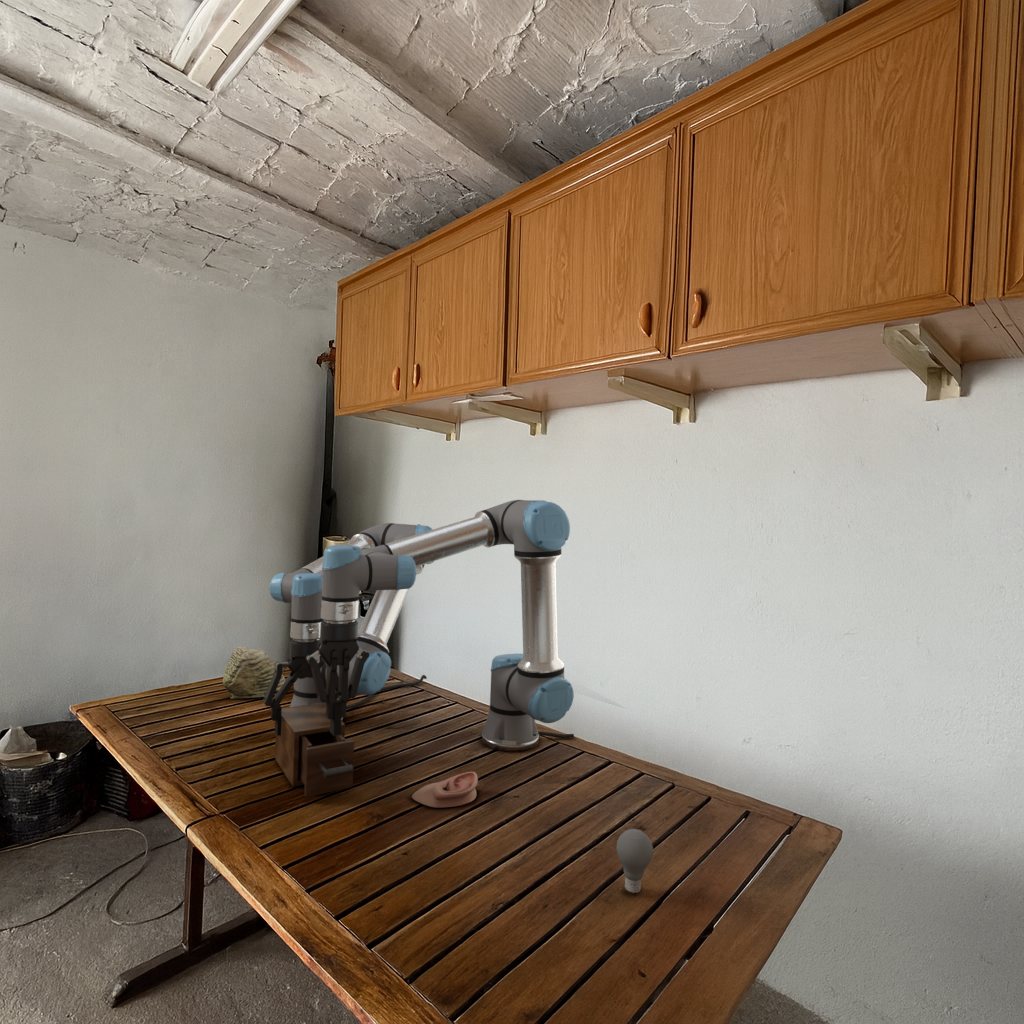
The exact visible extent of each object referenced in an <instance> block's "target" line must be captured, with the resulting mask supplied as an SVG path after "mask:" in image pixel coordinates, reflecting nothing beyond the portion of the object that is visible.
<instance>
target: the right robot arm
mask: <svg viewBox="0 0 1024 1024" xmlns="http://www.w3.org/2000/svg"><path fill="white" fill-rule="evenodd" d="M432 529H433V530H430V531H427V532H423V533H420V534H417V535H413V536H410V537H407V538H403V539H400V540H397V541H393V542H390V543H387V544H384V545H380V546H377V547H374V548H370V549H369V548H361V549H360V547H358V546H351V545H345V544H334V545H333V544H332V545H328V546H326V547H325V548H324V552H323V556H324V557H323V556H322V557H323V566H322V602H321V618H322V619H323V621H322V622H321V626H320V643H319V646H318V647H317V651H316V652H315V653H313V654H312V655H307V656H306V660H307V662H308V663H309V664H310V666H311V670H312V675H313V680H314V684H315V689H316V694H317V698H318V699H319V700H320V701H321V702H325V703H326V717H327V718H328V719H330V733H331V734H332V735H333V736H337V735H341V718H342V717H343V718H345V717H346V715H347V709H346V705H347V704H348V703H349V700H351V699H355V698H356V697H357V694H356V693H357V690H358V686H359V682H360V678H361V675H362V671H363V667H364V663H365V662H366V660H367V659H368V657H369V653H368V652H367V651H365V650H362V649H360V648H359V644H358V641H357V638H358V632H359V622H358V621H357V619H359V607H360V593H361V592H367V591H377V590H400V589H409V590H410V589H411V588H412V587H413V586H414V585H415V582H416V579H417V575H416V567H418V566H421V565H424V564H425V565H428V564H427V563H430V562H433V561H434V562H436V561H439V560H442V559H445V558H448V557H452V556H454V555H458V554H461V553H463V552H468V551H470V550H473V549H476V548H479V547H482V546H483V547H485V548H492V547H495V546H500V545H513V556H514V558H515V559H516V560H517V561H518V562H519V564H520V583H521V585H520V587H521V588H520V589H521V591H520V592H521V621H522V622H521V623H522V625H521V626H522V627H521V628H522V653H503V654H498V655H496V656H494V657H493V658H492V660H491V667H490V693H489V712H488V714H487V717H486V720H485V723H484V725H483V728H482V731H481V742H482V743H483V744H484V746H487V747H488V748H491V749H494V750H496V751H497V750H498V751H504V752H522V751H527V750H528V751H529V750H530V749H534V748H535V747H537V745H539V740H540V737H539V736H545V737H553V738H558V739H559V738H560V739H571V738H572V739H573V738H575V734H574V733H556V732H550V731H549V732H548V731H540V730H538V726H537V723H536V721H538V722H541V723H543V724H553V723H556V722H558V721H560V720H561V719H562V718H564V717H565V716H566V714H567V712H569V711H570V709H571V708H572V706H573V702H574V698H575V690H574V687H573V685H572V684H571V683H570V681H569V679H567V678H565V663H564V662H563V661H562V659H560V658H559V654H558V653H559V651H558V650H559V649H558V647H559V646H558V613H557V612H558V609H557V607H558V606H557V605H558V604H557V569H556V566H557V565H556V563H557V561H558V560H559V559H560V558H561V557H562V548H563V547H564V546H565V545H566V543H567V542H566V541H568V540H569V538H570V533H571V524H570V518H569V516H568V515H567V513H566V511H565V510H564V509H563V508H562V507H561V506H560V505H559V504H557V503H555V502H552V501H547V500H543V499H542V500H541V499H538V500H537V499H536V500H535V499H534V500H532V499H530V500H529V499H528V500H526V499H514V500H509V501H506V502H502V503H500V504H497V505H494V506H491V507H489V508H486V509H483V510H480V511H477V512H476V513H475V515H474V516H473V517H470V518H467V519H462V520H461V521H456V522H453V523H450V524H447V525H444V526H440V527H436V528H432ZM434 562H433V563H434ZM425 565H424V566H425ZM355 654H356V660H355V663H354V667H353V671H352V674H351V678H350V682H349V685H348V670H349V664H350V661H351V660H352V658H353V657H354V656H355ZM320 656H321V657H322V658H323V660H324V661H325V662H326V668H327V680H326V694H325V690H324V685H323V680H322V675H321V671H320V667H319V665H318V663H319V662H320V659H319V658H320ZM338 665H339V686H338V699H339V700H335V690H336V671H337V666H338Z"/></svg>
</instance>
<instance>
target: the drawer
mask: <svg viewBox="0 0 1024 1024" xmlns="http://www.w3.org/2000/svg"><path fill="white" fill-rule="evenodd" d="M354 752H355V741H354V740H353V739H347V740H346V738H345V737H343V736H342V735H337V736H333V735H332V734H331V733H330V731H327V732H321V733H315V734H309V735H303V736H299V761H298V776H299V777H300V779H301V780H302V782H303V783H304V785H303V786H304V793H303V794H304V797H305V798H308V797H312V796H317V795H318V796H319V795H322V794H327V793H332V792H336V791H340V790H345V789H349V788H353V786H354V784H353V782H354V779H353V778H354V760H355V759H354V757H355V756H354V755H355V754H354Z"/></svg>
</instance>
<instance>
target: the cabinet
mask: <svg viewBox="0 0 1024 1024" xmlns="http://www.w3.org/2000/svg"><path fill="white" fill-rule="evenodd" d="M345 728H346V724H345V723H344V721H343V722H342V721H341V735H342V736H343V737H344V738H345V735H346V734H345V732H346V729H345ZM327 731H330V719H328V718H327V717H326V705H325V704H324V703H316V704H309V705H302V706H295V707H290V706H289V707H282V714H281V735H279V736H277V735H276V734H275V748H274V749H275V750H274V760H275V762H277V764H278V766H279V768H280V769H281V771H282V772H283V774H284V775H285V777H286V778H287V780H288V782H289V783H290V785H291V786H292V788H295V787H300V786H305V785H304V783H303V782H302V780H301V779H300V777H299V776H298V761H299V736H303V735H309V734H315V733H321V732H327Z"/></svg>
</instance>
